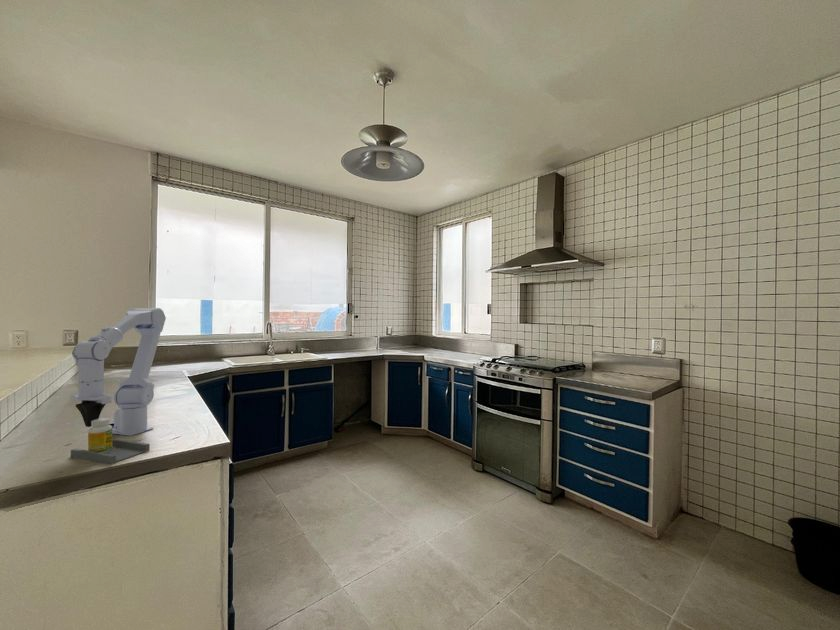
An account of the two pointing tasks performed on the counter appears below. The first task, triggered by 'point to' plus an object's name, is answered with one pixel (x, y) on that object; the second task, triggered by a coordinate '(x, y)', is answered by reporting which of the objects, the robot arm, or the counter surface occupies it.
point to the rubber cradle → (113, 452)
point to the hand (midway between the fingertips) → (91, 425)
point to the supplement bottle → (100, 436)
